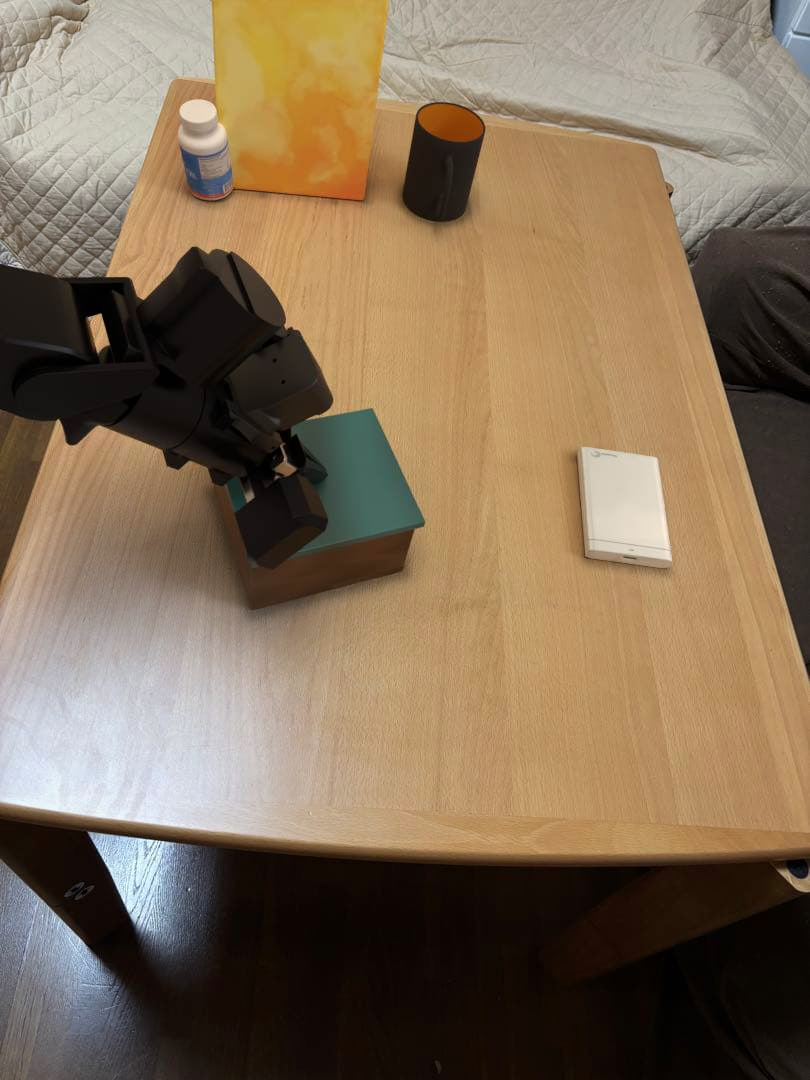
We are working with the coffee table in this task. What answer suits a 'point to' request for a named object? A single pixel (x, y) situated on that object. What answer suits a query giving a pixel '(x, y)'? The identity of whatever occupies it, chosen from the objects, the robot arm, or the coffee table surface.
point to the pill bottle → (205, 151)
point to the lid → (352, 482)
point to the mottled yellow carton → (299, 92)
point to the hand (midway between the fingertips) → (322, 475)
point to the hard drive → (623, 508)
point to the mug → (442, 160)
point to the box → (314, 564)
